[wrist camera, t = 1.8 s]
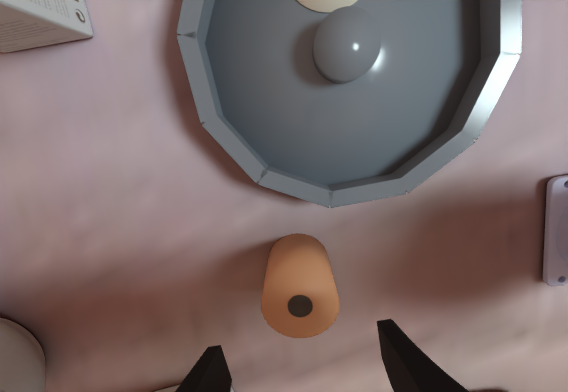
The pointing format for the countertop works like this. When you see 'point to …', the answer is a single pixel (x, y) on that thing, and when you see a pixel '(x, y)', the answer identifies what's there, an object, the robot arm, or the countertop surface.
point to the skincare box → (42, 23)
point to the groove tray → (347, 87)
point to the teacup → (20, 360)
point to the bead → (299, 288)
